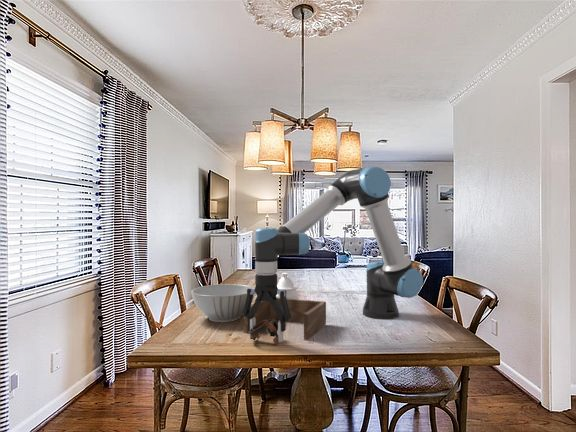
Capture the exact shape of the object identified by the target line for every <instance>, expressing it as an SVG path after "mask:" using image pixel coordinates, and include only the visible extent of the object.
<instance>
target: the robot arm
mask: <svg viewBox="0 0 576 432" xmlns="http://www.w3.org/2000/svg"><path fill="white" fill-rule="evenodd" d="M391 186H392V181H391V178H390V176H389V173H387V171H386V170H384V169H383V168H381V167H379V166H367V167H362V168H357V169H351V170H349V171H347V172H345V173H344V174H342V175H341V176H340V177H339V178H337V179H336V180H335V181H333V182H332V183H331V184H330V185H328V186H327V188H326V189H327V190H326V191H325V192H323V193H322V194H321V195H319V196H318V197H317V198H316V199H315V200H314V201H312V202H310V204H309V205H307V206H306V207H304V208H303V209H302V210H301V211H300V212H298V213H297V214H296V215H295V216H293V217H292V218H291V219H289V220H288V221H287V222H286V223H284V224H283V225H282V226H280V227H279V228H278V229H277V228H276V227H260V228H257V229H256V230H255V234H254V252H255V253H254V254H255V256H254V258H255V259H254V260H255V261H254V262H255V263H254V265H255V266H254V267H255V268H254V273H256V274H255V275H254V277H255V278H254V279H255V280H254V281H255V283H254V284H255V287H254V288H249V289H247V299H246V303H245V307H244V311H243V313H242V316H243V317H244V316H245V317H247V318H248V328H250V329H252V330H254V328H253V327H254V326H255V325H256V318H254V314H255V312H256V310H257V309H258V307H259V305H260V303H261V301H267V302H270V303H271V304H272V305H273V307H274V309H275V311H276V313H277V315H278V317H279V319H280V321H278V322H277V324H278V331H277V333H278V341H279V343H281V342H283V341H284V332H285V331H286V329H287V327H286V326H287V321H288V320H290V319H291V314H290V311H289V307H288V303H287V299H286V290H283V291H282V290H278V288H277V285H278V274H277V272H278V256H291V255H292V256H293V255H294V256H295V255H298V256H300V255H305V254H308V253H309V250H310V247H311V240H310V237H309V235H308V234H307V231H309V230H310V229H312V228H313V227H314V226H315V225H316V224H317V223H319V222H321V220H322V219H323V218H325V217H326V216H327V215H328V214H330V213H331V212H332V211H334V210H335V209H336V208H337V207H339V206H343V205H345V204H346V203H348V202H349V201H352V200H356V199H357V201H358V203H359V206H360V208H363V209H365V212H366V214H367V217H368V221H369V224H370V226H371V228H372V231H373V234H374V238H375V240H376V244H377V246H378V248H379V251H380V255H381V257H382V260H383V261H372V262H368V263H367V264H366V271H365V272H366V298H365V301H364V303H363V307H362V315H363V316H365V317H367V318H370V319H371V318H372V319H380V320H381V319H382V320H390V319H396V318H398V317H399V312H400V311H399V307H398V305H397V301H396V299H395V296H397V297H398V296H399V297H401V298H406V299H411V298H414V297H416V296H417V295H418V294H419V293H420V291H421V290H422V287H423V283H424V276H423V274H422V273H421V271H420V270H418V269H417V268H414V266H413V262H412V260H411V259H410V258H408V257H406V254H405V251H404V248H403V246H402V243H401V239H400V237H399V234H398V231H397V228H396V225H395V222H394V219H393V217H392V213H391V211H390V207H389V203H388V200H389V198H390V195H389V193H390V190H391ZM254 293H255V295H256V297H255V300H254V299H253V294H254ZM277 294H279V297H280V301H281V305H282V309H283V311H282V309H281V307H280V305H279V303H278V299H277V297H276V295H277ZM252 299H253V300H254V303H253V301H252ZM252 304H253V306H252V308H251V310H250V307H251V305H252ZM249 311H250V312H249Z"/></svg>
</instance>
